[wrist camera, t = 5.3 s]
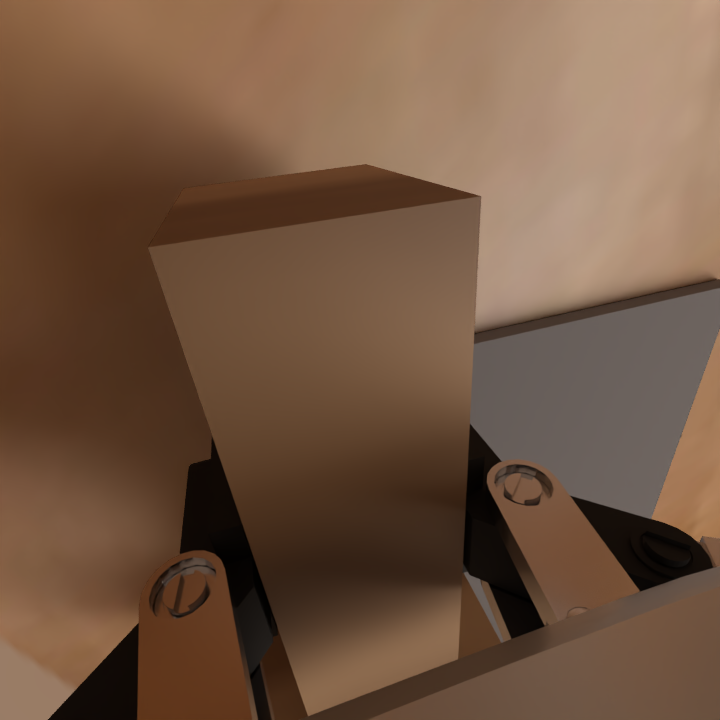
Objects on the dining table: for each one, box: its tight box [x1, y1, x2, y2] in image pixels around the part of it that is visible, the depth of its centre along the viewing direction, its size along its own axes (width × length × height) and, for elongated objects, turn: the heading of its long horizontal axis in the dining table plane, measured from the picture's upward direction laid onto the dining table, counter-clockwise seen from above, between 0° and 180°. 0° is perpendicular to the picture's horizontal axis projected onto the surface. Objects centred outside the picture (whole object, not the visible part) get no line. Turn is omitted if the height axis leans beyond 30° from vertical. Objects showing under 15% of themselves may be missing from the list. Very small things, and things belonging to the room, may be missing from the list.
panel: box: [464, 279, 720, 643], centre depth 20 cm, size 22×11×1 cm, turn 6°
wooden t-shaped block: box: [148, 164, 501, 720], centre depth 10 cm, size 16×7×5 cm, turn 5°
